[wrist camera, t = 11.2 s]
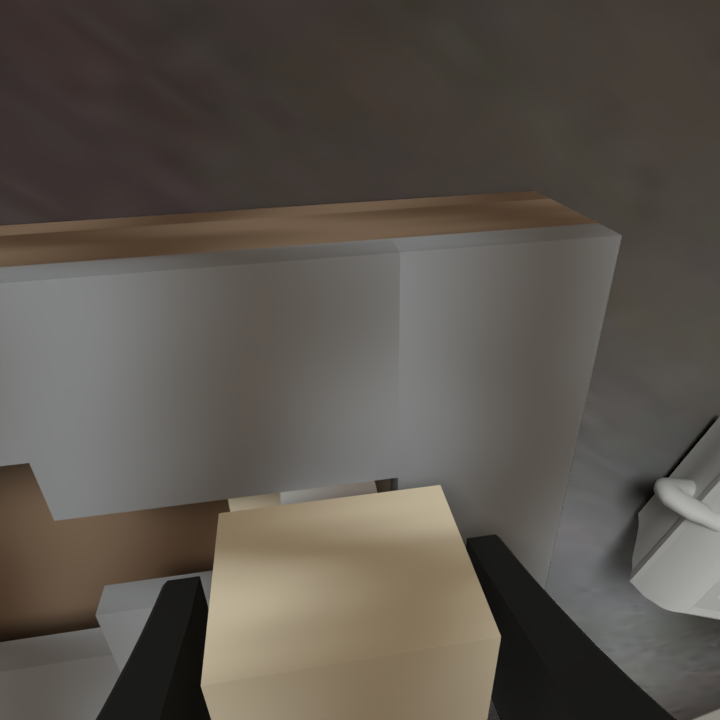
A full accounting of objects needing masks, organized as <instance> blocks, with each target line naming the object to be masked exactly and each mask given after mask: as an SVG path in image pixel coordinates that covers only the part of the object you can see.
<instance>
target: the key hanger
mask: <svg viewBox="0 0 720 720" xmlns="http://www.w3.org/2000/svg"><path fill="white" fill-rule="evenodd" d="M228 502H229V507H230V512H225V513H219V517H218V526H217V536H216V545H215V555H214V564H213V574H212V583H211V593H210V602H209V612H208V621H207V631H206V640H205V650H204V659H203V669H202V678H201V689H202V692H203V695H204V698H205V701H206V705H207V708H208V711H209V714H210V717H211V720H487V718H488V712H489V706H490V700H491V694H492V688H493V682H494V676H495V671H496V665H497V659H498V653H499V647H500V641H501V635H500V633H499V630H498V628H497V625H496V623H495V620H494V618H493V615H492V613H491V610H490V608H489V605H488V603H487V600H486V598H485V595H484V593H483V590H482V588H481V585H480V583H479V580H478V578H477V575H476V573H475V570H474V568H473V565H472V563H471V560H470V558H469V555H468V553H467V550H466V548H465V545H464V543H463V540H462V538H461V535H460V533H459V530H458V528H457V525H456V523H455V520H454V518H453V515H452V513H451V510H450V508H449V505H448V503H447V500H446V498H445V495H444V493H443V490H442V488H441V485H435V486H428V487H420V488H412V489H404V490H396V491H391V479H383V480H375V481H368V482H360V483H352V484H344V485H336V486H328V487H320V488H312V489H304V490H296V491H288V492H280V493H272V494H264V495H256V496H248V497H240V498H232V499H228Z"/></svg>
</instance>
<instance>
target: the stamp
mask: <svg viewBox="0 0 720 720" xmlns="http://www.w3.org/2000/svg"><path fill="white" fill-rule="evenodd" d="M654 493H655V494H654V495H653V497H652V498H651V499H650V500H649V501H648V503H647V504H646V505H645V506H644V507H643V508H642V510H641V511H640V512H639V513H638V517H639V527H638V532H637V538H636V543H635V547H634V552H633V557H632V573H631V576H630V582H631V583H632V584H633V585H634V586H635V587H636V588H637V589H638V590H639V591H640V593H641V594H642V595H643V596H644V597H646V598H647V599H649V600H651V601H652V602H654V603H655V604H657V605H658V606H660V607H662V608H663V609H666V610H669V611H673V612H678V613H684V614H689V615H695V616H701V617H706V618H712V619H718V620H720V417H719V418H718V419H717V420H716V422H715V423H714V424H713V425H712V426H711V428H710V429H709V430H708V431H707V432H706V434H705V435H704V436H703V437H702V438H701V439H700V441H699V442H698V443H697V444H696V445H695V447H694V448H693V449H692V450H691V451H690V453H689V454H688V455H687V456H686V457H685V459H684V460H683V461H682V462H681V463H680V464H679V466H678V467H677V468H676V469H675V470H674V472H673V473H672V474H671V475H670V476H669V478H659V479H657V480H656V483H655V485H654Z"/></svg>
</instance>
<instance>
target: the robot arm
mask: <svg viewBox="0 0 720 720" xmlns="http://www.w3.org/2000/svg"><path fill="white" fill-rule="evenodd" d="M466 550H467V553H468V555H469V558H470V560H471V563H472V565H473V568H474V570H475V573H476V575H477V578H478V580H479V583H480V585H481V588H482V590H483V593H484V595H485V598H486V600H487V603H488V605H489V608H490V610H491V613H492V615H493V618H494V620H495V623H496V625H497V628H498V630H499V633H500V635H501V641H500V647H499V653H498V659H497V665H496V671H495V676H494V682H493V688H492V694H491V698H492V701H493V703H494V706H495V708H496V711H497V713H498V716H499V718H500V720H676V719H675V718H674V717H673V716H672V715H670V714H669V713H668V712H667V711H666V710H665V709H664V708H662V707H661V706H660V705H659V704H658V703H657V702H656V701H654V700H653V699H652V698H651V697H650V696H649V695H648V694H647V693H646V692H644V691H643V690H642V689H641V688H640V687H639V686H638V685H637V684H636V683H635V682H634V681H633V680H631V679H630V678H629V677H628V676H627V675H626V674H625V673H624V672H623V671H622V670H621V669H620V668H619V667H618V666H617V665H616V664H615V663H614V662H613V661H612V660H611V659H610V658H609V657H608V656H607V655H606V654H604V653H603V652H602V651H601V650H600V649H599V648H598V647H597V646H596V645H595V644H594V643H593V642H592V640H591V639H590V638H589V637H588V636H587V635H586V634H585V633H584V632H583V631H582V630H581V629H580V628H579V627H578V626H577V625H576V624H575V623H574V622H573V621H572V620H571V619H570V617H569V616H568V615H567V614H566V613H565V612H564V611H563V610H562V609H561V608H560V607H559V606H558V605H557V604H556V602H555V601H554V600H553V599H552V598H551V597H550V596H549V595H548V594H547V593H546V591H545V590H544V589H543V588H542V587H541V586H540V585H539V583H538V582H537V581H536V580H535V579H534V578H533V577H532V575H531V574H530V573H529V572H528V571H527V570H526V568H525V567H524V566H523V565H522V564H521V563H520V561H519V560H518V559H517V558H516V557H515V555H514V554H513V553H512V552H511V551H510V549H509V548H508V547H507V546H506V544H505V543H504V542H503V541H502V540H501V538H500V537H498V536H497V535H496V534H494V535H487V536H480V537H473V538H467V542H466ZM208 612H209V608H208V605H207V601H206V597H205V593H204V590H203V586H202V582H201V578H200V576H196V577H189V578H182V579H175V580H168V581H167V582H166V583H165V584H164V585H163V586H162V588H161V591H160V593H159V595H158V598H157V600H156V602H155V604H154V607H153V609H152V611H151V613H150V616H149V618H148V620H147V622H146V624H145V626H144V628H143V630H142V633H141V635H140V637H139V639H138V641H137V643H136V645H135V647H134V649H133V651H132V653H131V655H130V657H129V659H128V661H127V663H126V664H125V666H124V668H123V670H122V672H121V674H120V676H119V678H118V679H117V681H116V683H115V685H114V687H113V689H112V691H111V693H110V695H109V696H108V698H107V700H106V702H105V704H104V706H103V707H102V709H101V711H100V713H99V715H98V716H97V718H96V720H211V717H210V714H209V711H208V708H207V705H206V701H205V698H204V695H203V692H202V689H201V678H202V669H203V659H204V650H205V640H206V631H207V621H208Z"/></svg>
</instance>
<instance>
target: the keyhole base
mask: <svg viewBox="0 0 720 720" xmlns="http://www.w3.org/2000/svg"><path fill="white" fill-rule="evenodd" d="M621 238H622V235H620V234H618V233H616V232H614V231H612V230H610V229H609V228H607V227H605V226H603V225H601V224H599V223H597V222H595V221H593V220H591V219H589V218H587V217H585V216H583V215H581V214H579V213H577V212H575V211H574V210H572V209H570V208H568V207H566V206H564V205H562V204H560V203H558V202H556V201H554V200H552V199H550V198H548V197H546V196H544V195H542V194H540V193H538V192H537V191H523V192H507V193H492V194H477V195H462V196H446V197H431V198H416V199H401V200H385V201H370V202H355V203H340V204H324V205H309V206H294V207H279V208H264V209H248V210H233V211H218V212H203V213H187V214H172V215H157V216H142V217H126V218H111V219H96V220H81V221H66V222H50V223H35V224H20V225H5V226H0V720H96V718H97V716H98V715H99V713H100V711H101V709H102V707H103V706H104V704H105V702H106V700H107V698H108V696H109V695H110V693H111V691H112V689H113V687H114V685H115V683H116V681H117V679H118V678H119V676H120V674H121V672H122V670H123V668H124V666H125V664H126V663H127V661H128V659H129V657H130V655H131V653H132V651H133V649H134V647H135V645H136V643H137V641H138V639H139V637H140V635H141V633H142V630H143V628H144V626H145V624H146V622H147V620H148V618H149V616H150V613H151V611H152V609H153V607H154V604H155V602H156V600H157V598H158V595H159V593H160V591H161V588H162V586H163V585H164V584H165V583H166V582H167V581H168V580H175V579H182V578H189V577H196V576H200V578H201V582H202V586H203V590H204V593H205V597H206V601H207V605H208V608H209V602H210V593H211V583H212V574H213V564H214V555H215V545H216V536H217V526H218V517H219V513H225V512H230V507H229V502H228V499H232V498H240V497H248V496H256V495H264V494H272V493H280V492H288V491H296V490H304V489H312V488H320V487H328V486H336V485H344V484H352V483H360V482H368V481H375V480H383V479H391V491H396V490H404V489H412V488H420V487H428V486H435V485H441V488H442V490H443V493H444V495H445V498H446V500H447V503H448V505H449V508H450V510H451V513H452V515H453V518H454V520H455V523H456V525H457V528H458V530H459V533H460V535H461V538H462V540H463V543H464V545H465V548H466V542H467V538H473V537H480V536H487V535H494V534H496V535H497V536H498V537H500V538H501V540H502V541H503V542H504V543H505V544H506V546H507V547H508V548H509V549H510V551H511V552H512V553H513V554H514V555H515V557H516V558H517V559H518V560H519V561H520V563H521V564H522V565H523V566H524V567H525V568H526V570H527V571H528V572H529V573H530V574H531V575H532V577H533V578H534V579H535V580H536V581H537V582H538V583H539V585H540V586H541V587H542V588H543V589H544V590H545V586H546V582H547V577H548V573H549V568H550V563H551V559H552V554H553V550H554V545H555V540H556V536H557V531H558V527H559V522H560V517H561V513H562V508H563V504H564V499H565V495H566V490H567V485H568V481H569V476H570V472H571V467H572V462H573V458H574V453H575V449H576V444H577V439H578V435H579V430H580V426H581V421H582V417H583V412H584V407H585V403H586V398H587V394H588V389H589V384H590V380H591V375H592V371H593V366H594V361H595V357H596V352H597V348H598V343H599V339H600V334H601V329H602V325H603V320H604V316H605V311H606V306H607V302H608V297H609V293H610V288H611V283H612V279H613V274H614V270H615V265H616V260H617V256H618V251H619V247H620V242H621Z"/></svg>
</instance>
